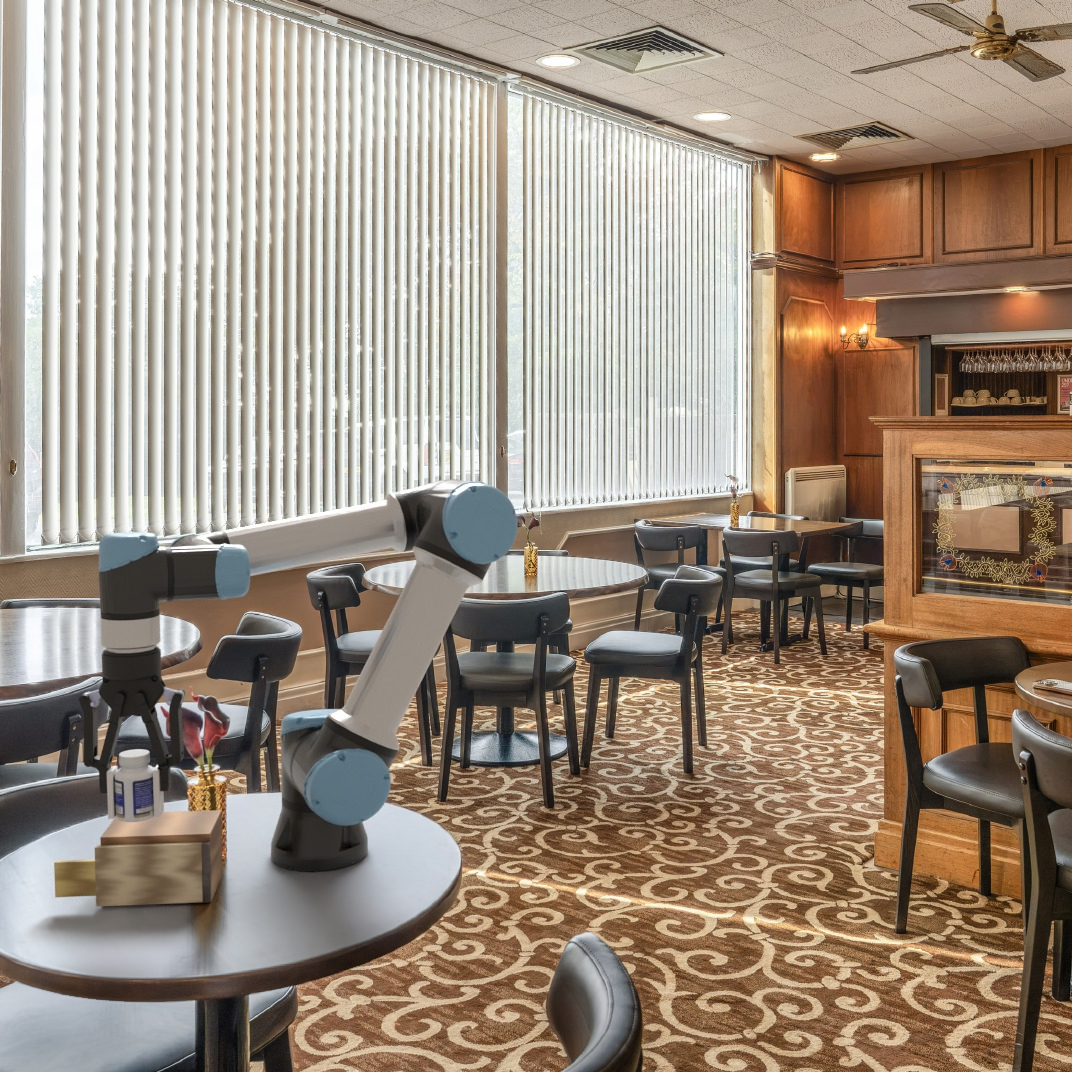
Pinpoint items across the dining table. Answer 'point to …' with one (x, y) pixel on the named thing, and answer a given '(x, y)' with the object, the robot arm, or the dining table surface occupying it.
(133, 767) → the pill bottle
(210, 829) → the case
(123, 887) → the door
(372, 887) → the dining table surface
